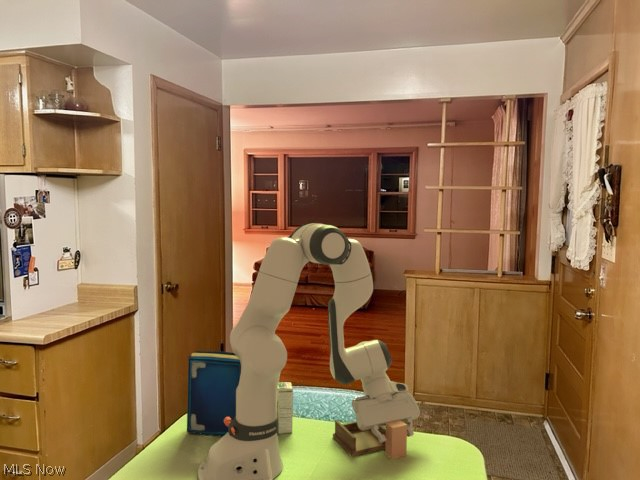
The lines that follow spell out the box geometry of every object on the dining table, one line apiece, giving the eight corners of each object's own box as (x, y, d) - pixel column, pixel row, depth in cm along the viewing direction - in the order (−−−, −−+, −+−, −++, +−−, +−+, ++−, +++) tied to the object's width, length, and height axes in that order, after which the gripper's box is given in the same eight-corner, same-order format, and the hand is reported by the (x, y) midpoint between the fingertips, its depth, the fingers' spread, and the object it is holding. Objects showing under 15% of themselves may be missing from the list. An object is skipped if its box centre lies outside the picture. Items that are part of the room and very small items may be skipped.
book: (259, 428, 145) (259, 352, 143) (253, 439, 138) (253, 359, 136) (194, 424, 147) (193, 349, 146) (185, 435, 140) (185, 356, 138)
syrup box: (273, 426, 146) (273, 382, 146) (291, 424, 148) (291, 381, 147) (274, 434, 141) (274, 389, 140) (293, 432, 142) (293, 387, 141)
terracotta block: (391, 458, 127) (392, 428, 127) (385, 453, 130) (385, 422, 130) (406, 455, 129) (407, 424, 129) (399, 449, 132) (400, 419, 132)
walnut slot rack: (351, 456, 128) (351, 438, 128) (332, 437, 139) (333, 420, 139) (389, 447, 134) (389, 430, 133) (369, 429, 145) (369, 413, 144)
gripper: (353, 394, 131) (370, 442, 123) (411, 383, 139) (430, 428, 131) (346, 403, 135) (361, 450, 127) (402, 392, 144) (421, 436, 135)
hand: (397, 439), depth 129 cm, fingers open, 8 cm apart
